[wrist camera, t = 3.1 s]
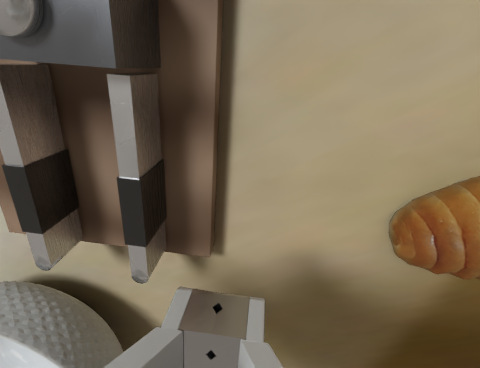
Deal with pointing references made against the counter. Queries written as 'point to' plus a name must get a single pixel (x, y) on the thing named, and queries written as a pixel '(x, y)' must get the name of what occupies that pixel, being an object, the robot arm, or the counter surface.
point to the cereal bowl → (51, 330)
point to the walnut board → (171, 130)
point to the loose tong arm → (139, 168)
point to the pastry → (441, 230)
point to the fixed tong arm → (37, 162)
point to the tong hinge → (81, 32)
